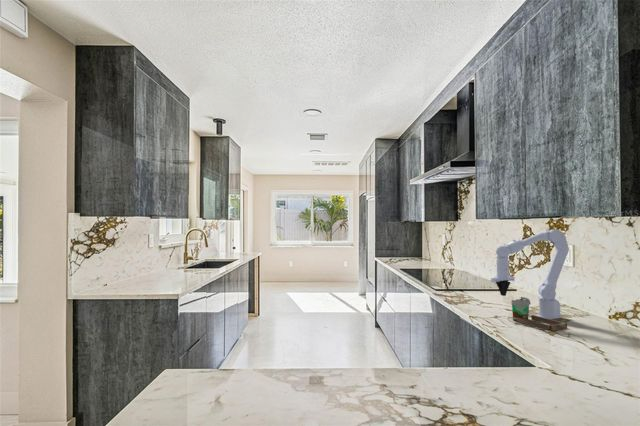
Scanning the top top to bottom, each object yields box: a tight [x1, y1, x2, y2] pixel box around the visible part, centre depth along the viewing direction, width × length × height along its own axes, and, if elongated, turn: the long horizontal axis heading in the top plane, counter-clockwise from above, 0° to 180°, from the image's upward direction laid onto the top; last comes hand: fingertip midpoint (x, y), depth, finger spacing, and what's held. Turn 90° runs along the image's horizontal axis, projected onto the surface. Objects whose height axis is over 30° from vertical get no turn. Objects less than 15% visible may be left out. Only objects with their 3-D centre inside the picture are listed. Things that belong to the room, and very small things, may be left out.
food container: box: [511, 296, 532, 322], centre depth 184 cm, size 12×6×10 cm, turn 132°
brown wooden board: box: [516, 314, 568, 331], centre depth 176 cm, size 11×17×2 cm, turn 23°
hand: (503, 295), depth 198 cm, fingers closed
